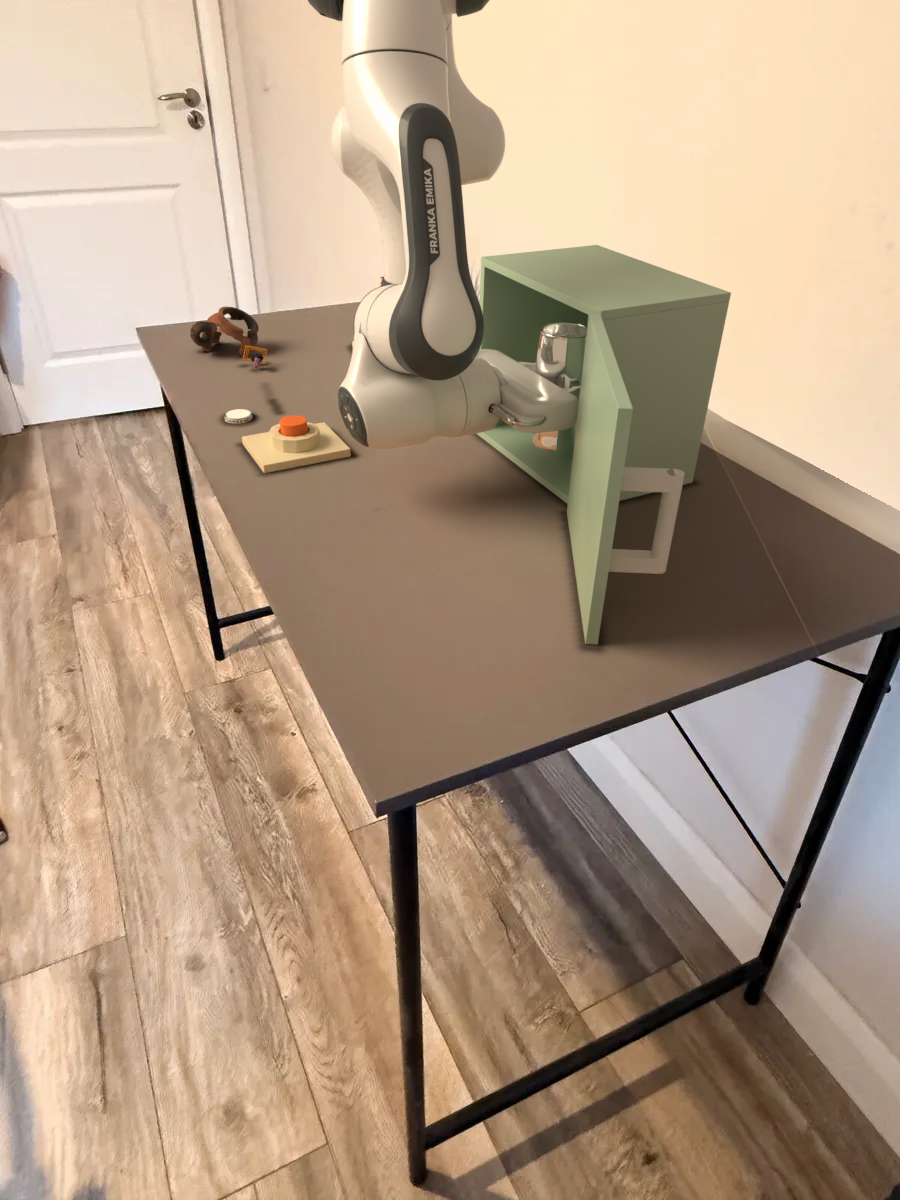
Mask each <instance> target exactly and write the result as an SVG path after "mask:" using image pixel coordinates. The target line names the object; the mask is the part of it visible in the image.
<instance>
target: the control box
mask: <svg viewBox="0 0 900 1200" xmlns="http://www.w3.org/2000/svg"><path fill="white" fill-rule="evenodd" d="M307 426H308V433H307V434H305V435H302V436H297V437H287V436H284V435H282V434H281V429H280V422H278V423H277V424H274V425H272V426H270V427H271V428H270V429H269V431H267V432H266V431H265V432H260V433H254V434H249V435H243V436H241V443H242V445H243V447H244V448H245V450H246V451H247V452H248V453H249V455H250V456H251V458H252V459H253V461H254V462H255V463H256V465H258V467H259V468H260V470H261V471H262V473H264V474H267V473H272V472H278V471H283V470H288V469H293V468H298V467H303V466H308V465H313V464H319V463H323V462H324V463H325V462H328V461H335V460H338V459H339V460H341V459H344V458H349V457H350V458H351V455H352V453H351V448H350V447H349V446H348V445H347V444H346V443H345V442H344V441H343V440H342V439H341V438H340V437H339V436H338V435H337V434H336V433H335V432H334V430H332V428H331V427H330V426H329V425H328V424H327V423H326V422H324V421H323V422H319V423H318V422H317V423H312V422H309V421H307Z"/></svg>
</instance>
